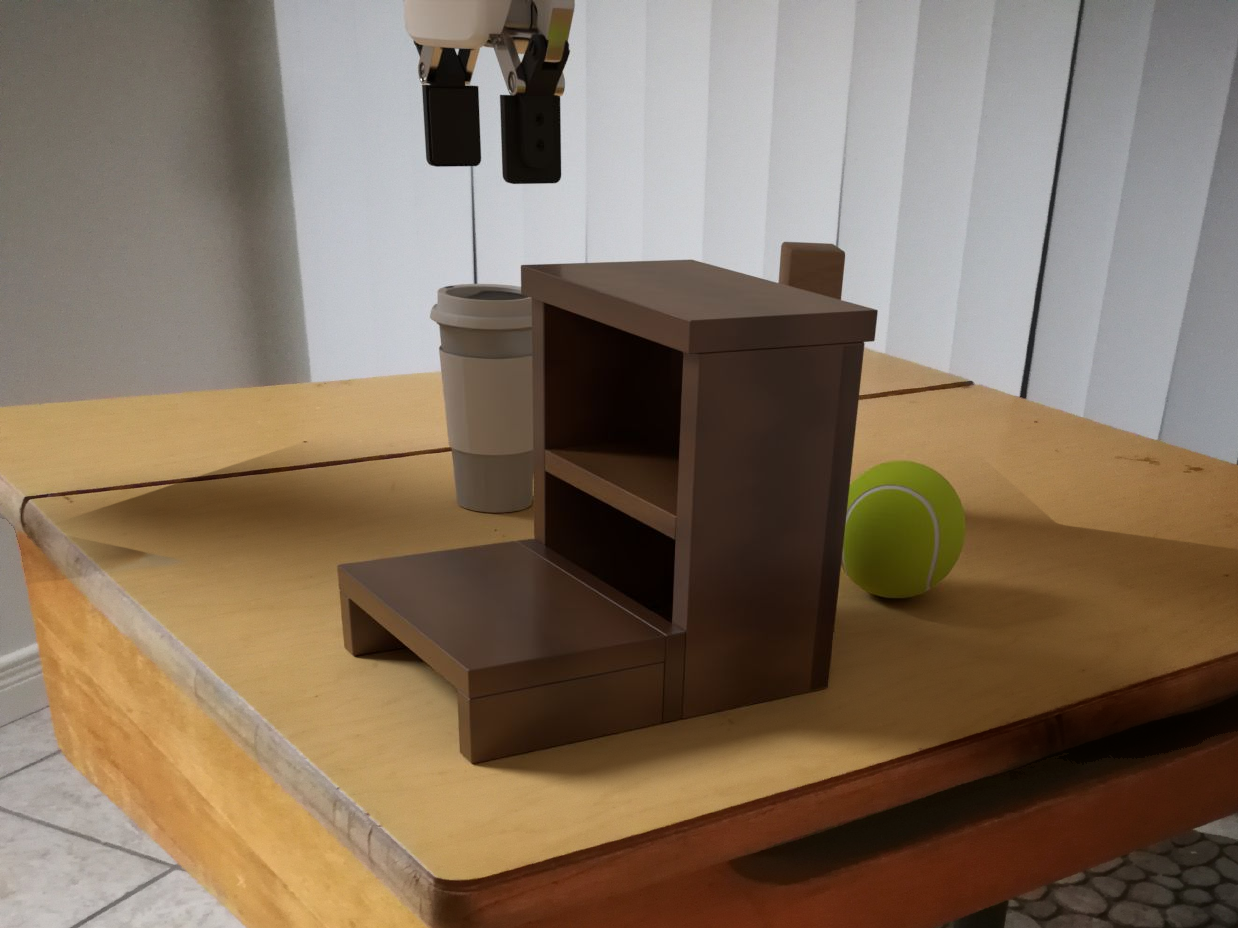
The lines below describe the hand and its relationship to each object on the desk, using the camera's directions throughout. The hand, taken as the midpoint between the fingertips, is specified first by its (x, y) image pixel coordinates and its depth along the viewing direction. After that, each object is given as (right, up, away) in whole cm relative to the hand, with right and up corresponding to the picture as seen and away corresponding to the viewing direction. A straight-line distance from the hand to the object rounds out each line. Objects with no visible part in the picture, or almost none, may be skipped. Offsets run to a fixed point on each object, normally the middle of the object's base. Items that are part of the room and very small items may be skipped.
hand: (491, 174), depth 79 cm
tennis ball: (+22, -24, -1) cm, 32 cm away
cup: (-1, -15, +10) cm, 18 cm away
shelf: (+6, -30, -12) cm, 33 cm away
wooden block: (+17, -14, +14) cm, 26 cm away
